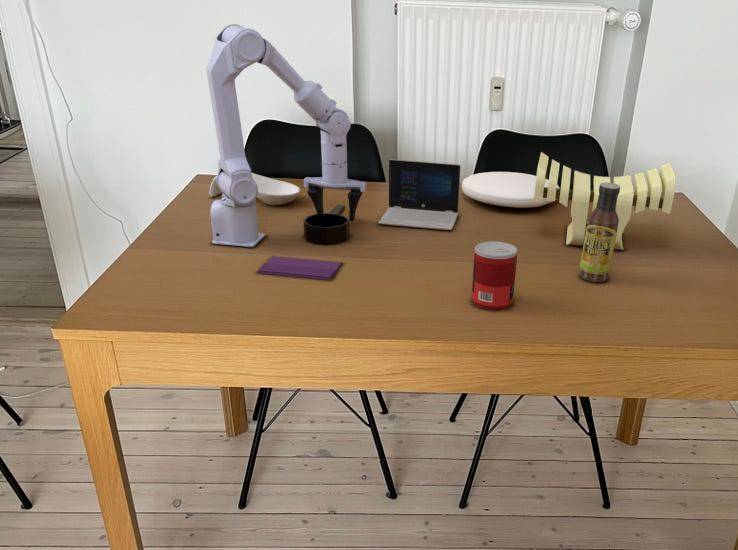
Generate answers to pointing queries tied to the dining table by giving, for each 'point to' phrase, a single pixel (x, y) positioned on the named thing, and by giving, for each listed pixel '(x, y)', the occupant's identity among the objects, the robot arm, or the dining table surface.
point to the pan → (327, 227)
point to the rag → (300, 268)
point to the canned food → (494, 275)
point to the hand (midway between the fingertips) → (336, 218)
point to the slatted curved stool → (584, 195)
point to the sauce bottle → (600, 235)
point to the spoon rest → (267, 190)
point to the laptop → (422, 195)
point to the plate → (503, 189)
